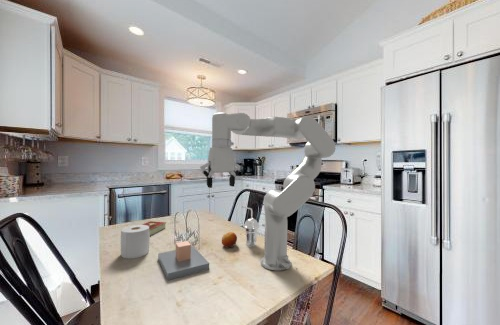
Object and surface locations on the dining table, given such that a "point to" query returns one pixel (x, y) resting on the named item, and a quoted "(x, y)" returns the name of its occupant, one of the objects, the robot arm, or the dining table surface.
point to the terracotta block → (183, 251)
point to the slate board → (182, 264)
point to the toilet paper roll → (134, 241)
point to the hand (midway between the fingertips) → (221, 186)
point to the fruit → (229, 239)
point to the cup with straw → (251, 230)
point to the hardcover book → (155, 226)
